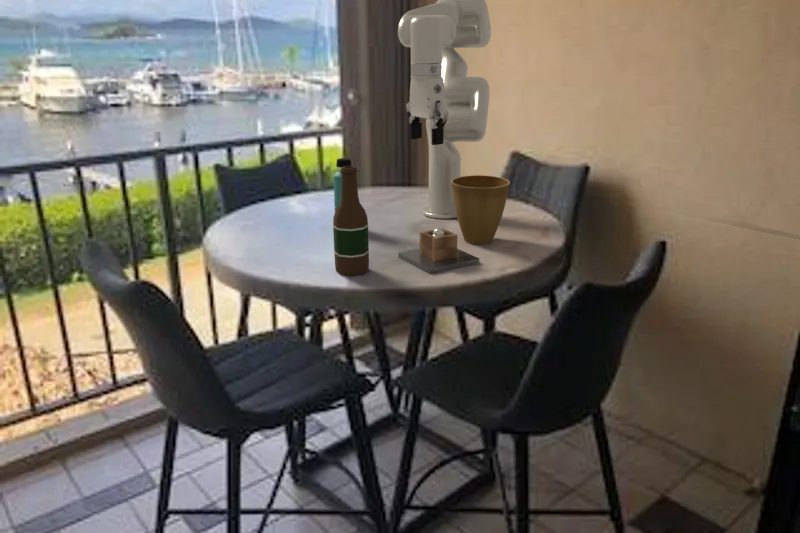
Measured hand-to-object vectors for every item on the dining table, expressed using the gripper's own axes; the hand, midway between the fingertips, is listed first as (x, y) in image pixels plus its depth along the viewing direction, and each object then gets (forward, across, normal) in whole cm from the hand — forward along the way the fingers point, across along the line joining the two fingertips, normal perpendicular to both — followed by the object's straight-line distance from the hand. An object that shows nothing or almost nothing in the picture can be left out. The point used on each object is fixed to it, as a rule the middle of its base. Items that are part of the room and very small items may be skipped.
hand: (426, 141), depth 159 cm
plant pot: (+26, -9, -10) cm, 29 cm away
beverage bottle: (+26, +19, +14) cm, 36 cm away
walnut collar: (+24, -17, +8) cm, 30 cm away
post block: (+25, -17, +8) cm, 31 cm away
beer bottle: (+25, -12, +29) cm, 40 cm away
